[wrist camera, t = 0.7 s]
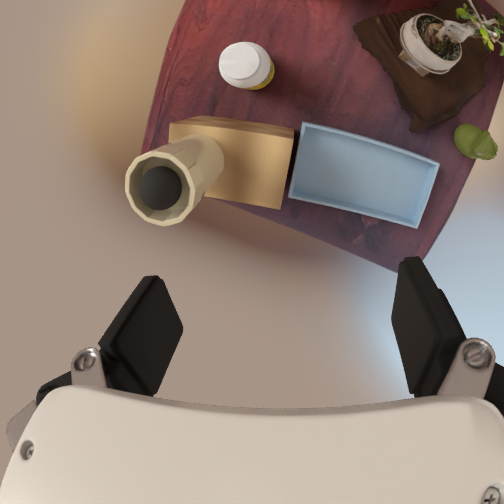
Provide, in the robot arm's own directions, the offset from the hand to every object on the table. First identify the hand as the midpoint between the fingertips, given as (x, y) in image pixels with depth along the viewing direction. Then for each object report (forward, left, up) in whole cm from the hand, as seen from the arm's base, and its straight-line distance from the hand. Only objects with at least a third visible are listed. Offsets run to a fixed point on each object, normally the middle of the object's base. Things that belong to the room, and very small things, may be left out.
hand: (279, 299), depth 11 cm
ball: (-8, -8, -14) cm, 18 cm away
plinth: (-5, -6, -36) cm, 37 cm away
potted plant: (+4, +28, -36) cm, 46 cm away
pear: (+17, +24, -37) cm, 47 cm away
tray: (+11, +5, -36) cm, 38 cm away
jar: (-8, -8, -24) cm, 27 cm away
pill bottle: (-12, +4, -36) cm, 39 cm away
